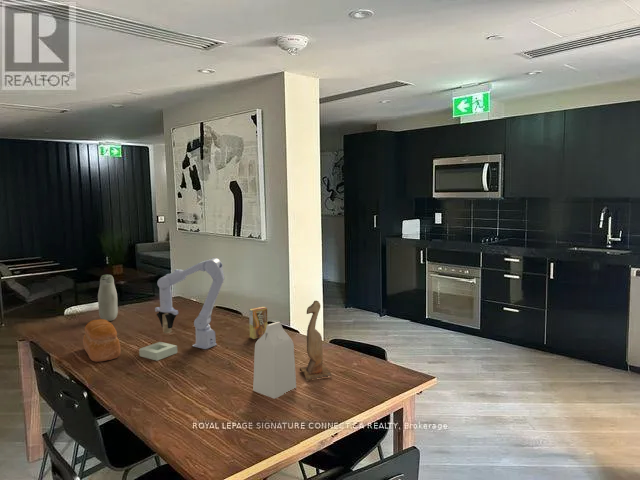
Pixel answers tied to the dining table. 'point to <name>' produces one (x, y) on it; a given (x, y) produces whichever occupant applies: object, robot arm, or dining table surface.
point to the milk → (274, 362)
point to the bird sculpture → (314, 348)
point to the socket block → (158, 351)
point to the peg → (165, 324)
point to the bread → (101, 341)
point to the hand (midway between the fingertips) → (167, 327)
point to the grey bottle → (107, 298)
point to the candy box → (257, 322)
